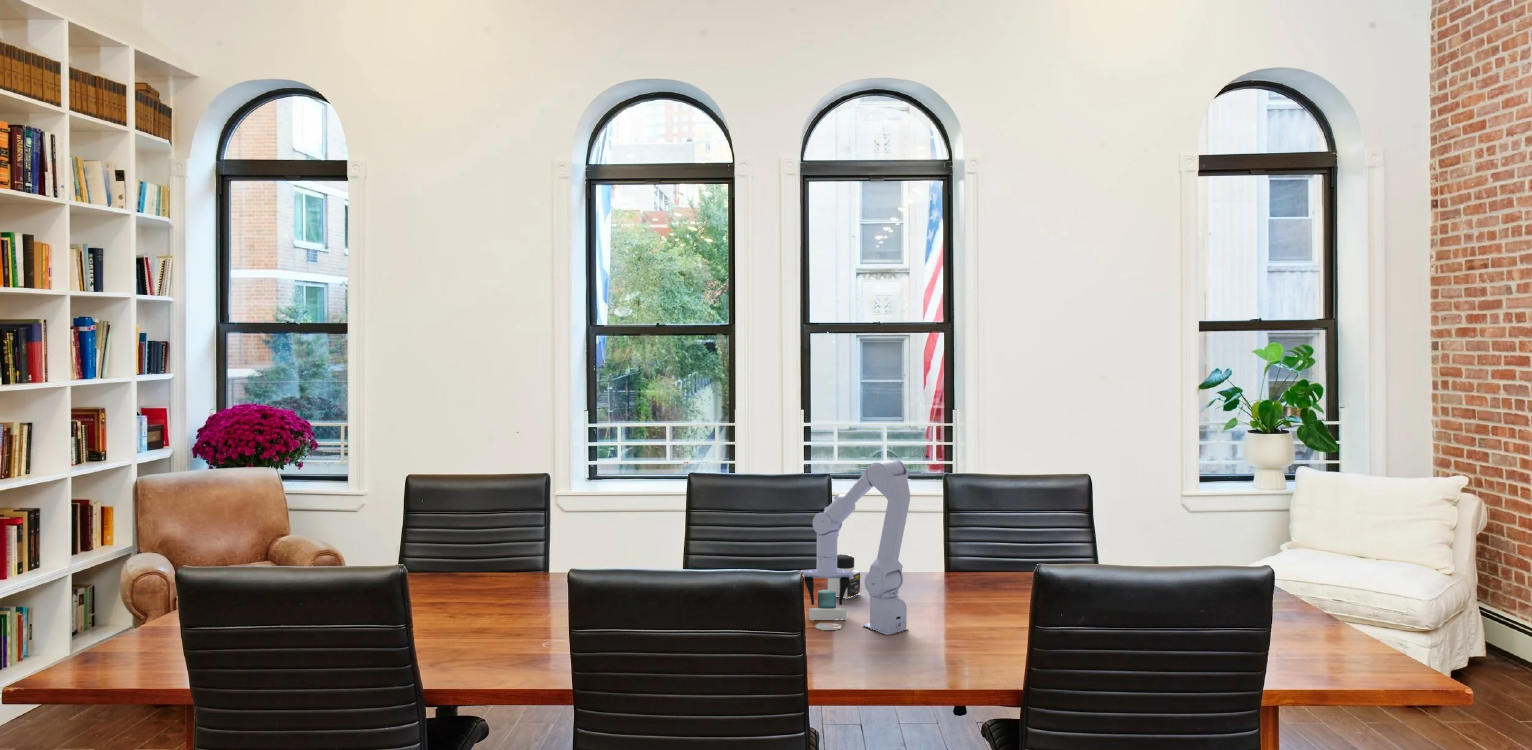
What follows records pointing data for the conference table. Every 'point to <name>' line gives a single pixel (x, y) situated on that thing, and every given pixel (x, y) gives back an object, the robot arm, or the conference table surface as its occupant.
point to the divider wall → (826, 614)
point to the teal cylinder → (827, 599)
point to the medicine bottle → (854, 584)
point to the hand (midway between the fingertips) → (826, 604)
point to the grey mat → (827, 626)
